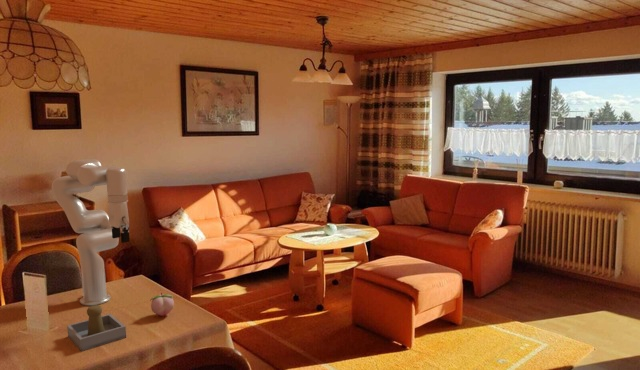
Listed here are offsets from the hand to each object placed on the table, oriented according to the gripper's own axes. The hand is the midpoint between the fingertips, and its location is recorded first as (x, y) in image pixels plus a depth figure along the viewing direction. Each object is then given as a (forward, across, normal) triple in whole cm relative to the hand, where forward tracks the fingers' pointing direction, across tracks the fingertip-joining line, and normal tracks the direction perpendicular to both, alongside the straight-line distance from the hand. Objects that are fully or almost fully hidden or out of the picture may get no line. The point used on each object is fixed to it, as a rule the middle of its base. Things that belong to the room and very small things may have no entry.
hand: (120, 239), depth 205 cm
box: (+32, +13, -16) cm, 38 cm away
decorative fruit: (+32, +11, +11) cm, 36 cm away
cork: (+32, +12, -16) cm, 37 cm away
